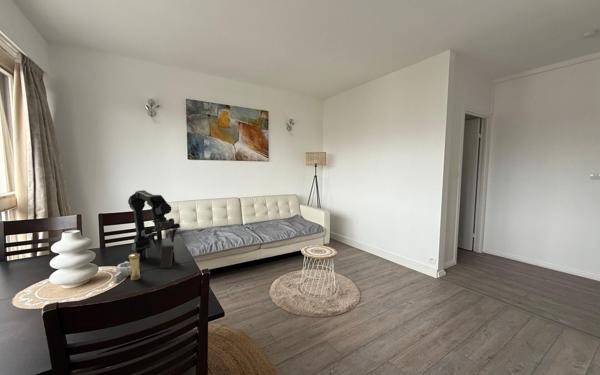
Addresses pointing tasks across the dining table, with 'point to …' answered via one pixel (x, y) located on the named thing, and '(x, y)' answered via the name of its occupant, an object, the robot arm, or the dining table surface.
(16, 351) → the dining table surface
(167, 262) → the door stopper
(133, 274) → the yellow tall cylinder
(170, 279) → the dining table surface
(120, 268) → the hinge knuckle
